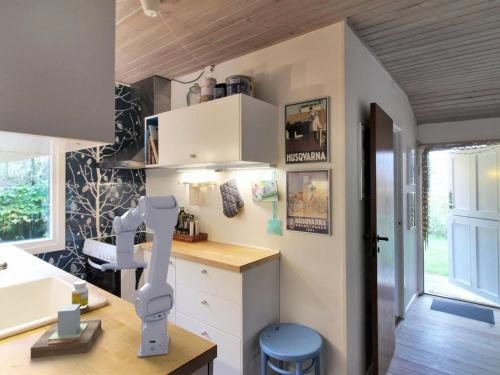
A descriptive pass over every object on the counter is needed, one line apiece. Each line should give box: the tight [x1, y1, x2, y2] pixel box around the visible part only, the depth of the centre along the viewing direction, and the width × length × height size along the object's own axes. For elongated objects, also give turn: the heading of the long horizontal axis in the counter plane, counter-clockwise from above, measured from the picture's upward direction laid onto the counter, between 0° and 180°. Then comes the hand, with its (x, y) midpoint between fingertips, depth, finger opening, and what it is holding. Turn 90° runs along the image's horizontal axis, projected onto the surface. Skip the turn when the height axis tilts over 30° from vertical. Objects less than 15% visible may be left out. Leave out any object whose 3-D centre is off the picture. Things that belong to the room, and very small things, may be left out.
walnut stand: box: [30, 318, 102, 359], centre depth 88 cm, size 14×14×3 cm
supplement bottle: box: [71, 280, 89, 307], centre depth 111 cm, size 5×5×10 cm
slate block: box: [57, 304, 81, 335], centre depth 88 cm, size 4×4×7 cm
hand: (124, 289), depth 102 cm, fingers open, 7 cm apart
